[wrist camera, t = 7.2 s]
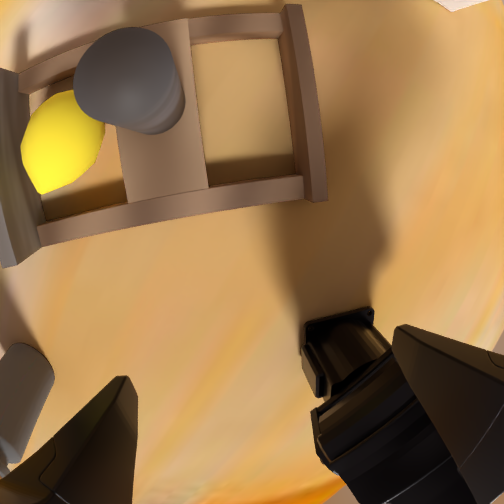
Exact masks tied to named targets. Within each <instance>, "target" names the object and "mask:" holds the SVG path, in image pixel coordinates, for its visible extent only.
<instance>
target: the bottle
mask: <svg viewBox="0 0 504 504" xmlns="http://www.w3.org/2000/svg"><path fill="white" fill-rule="evenodd" d="M54 379H55V376H54V372H53V369H52V367H51V365H50V364H49V362H48V361H47V360H46V358H45V357H44V356H43V355H42V354H41V353H39V352H38V351H37V350H36V349H34V348H33V347H31V346H29V345H26V344H23V343H15V344H13V345H12V346H11V347H10V348H9V349H8V351H7V352H6V353H5V354H4V356H3V357H2V358H1V360H0V479H2V478H3V477H5V476H6V475H7V474H9V473H10V470H9V469H8V468H7V465H8V463H14V464H15V463H19V462H20V461H21V459H22V456H23V454H24V451H25V449H26V446H27V444H28V441H29V439H30V436H31V434H32V431H33V429H34V426H35V424H36V422H37V419H38V417H39V415H40V412H41V410H42V408H43V405H44V403H45V401H46V399H47V397H48V394H49V392H50V390H51V388H52V386H53V383H54Z"/></svg>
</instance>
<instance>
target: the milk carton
mask: <svg viewBox="0 0 504 504" xmlns="http://www.w3.org/2000/svg"><path fill="white" fill-rule="evenodd" d="M435 1H436V2H438V3H439V4H441V5H442V6H443V7H445V8H446V9H448V10H449V11H451V12H453V11H456V10H459V9H462V8H465V7H468V6H471V5H474V4H478V3H481V2H484V1H488V0H435Z"/></svg>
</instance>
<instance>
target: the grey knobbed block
mask: <svg viewBox="0 0 504 504" xmlns="http://www.w3.org/2000/svg"><path fill="white" fill-rule="evenodd" d="M73 91H74V96H75V99H76V102H77V104H78V105H79V107H80V108H81V110H82V111H83V112H84V113H85V114H87V115H88V116H89V117H91V118H93V119H95V120H98V121H101V122H104V123H108V124H111V125H115V126H116V132H117V140H118V147H119V154H120V160H121V166H122V172H123V178H124V184H125V189H126V194H127V200H128V203H133V202H138V201H142V200H147V199H152V198H157V197H162V196H168V195H173V194H178V193H184V192H190V191H195V190H201V189H207V188H209V187H208V179H207V172H206V166H205V159H204V152H203V144H202V137H201V130H200V122H199V114H198V107H197V99H196V90H195V82H194V73H193V65H192V56H191V46H190V37H189V28H188V18H184V19H178V20H172V21H166V22H161V23H156V24H152V25H147V26H143V27H128V28H122V29H118V30H115V31H112V32H110V33H108V34H106V35H104V36H102V37H101V38H99V39H98V40H97V41H95V42H94V43H93V44H92V45H91V46H90V47H89V48H88V49H87V50H86V52H85V53H84V54H83V56H82V57H81V59H80V61H79V63H78V65H77V67H76V70H75V74H74V79H73Z"/></svg>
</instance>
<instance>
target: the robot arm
mask: <svg viewBox="0 0 504 504" xmlns="http://www.w3.org/2000/svg"><path fill="white" fill-rule="evenodd" d="M369 311H370V312H369ZM368 312H369V313H368ZM367 313H368V314H367ZM373 321H374V309H373V308H372V307H370V306H367V307H364V308H360V309H356V310H353V311H349V312H345V313H341V314H337V315H333V316H329V317H325V318H321V319H317V320H312V321H309V322H307V323H305V325H304V345H303V346H302V347H301V357H302V369H303V371H304V373H305V376H306V378H307V380H308V382H309V384H310V386H311V389H312V391H313V393H314V395H315V397H317V398H321V397H323V399H324V401H325V402H324V403H323V404H322V405H320V406H319V407H318V408H314V409H313V410H312V411H310V413H311V421H312V428H313V435H314V443H315V449H316V454H317V455H318V457H319V458H320V461H321V463H322V464H324V465H326V467H327V468H328V469H329V470H331V471H332V472H333V473H335V474H336V475H339V476H340V477H341V478H342V479H343V481H344V482H345V483H346V484H347V486H348V487H349V489H350V490H351V492H352V493H353V495H354V496H355V498H356V499H357V501H358V502H359V503H360V504H491V503H492V502H493V501H494V500H495V499H496V498H498V497H499V496H500V495H501V494H502V493H503V492H504V355H501V354H498V353H494V352H491V351H488V350H487V351H486V350H485V349H481V348H478V347H475V346H472V345H469V344H466V343H463V342H459V341H456V340H453V339H450V338H447V337H444V336H441V335H438V334H435V333H432V332H429V331H426V330H423V329H420V328H417V327H414V326H410V325H407V324H403V325H400V326H397V327H396V328H395V330H394V335H393V341H392V346H391V344H390V343H389V342H388V341H387V340H386V339H385V338H384V337H383V335H382V334H381V333H380V332H379V331H378V330H377V329H376V328H375V327H374V326H373ZM310 326H312V327H311V328H310V329H308V328H309V327H310ZM137 439H138V396H137V393H136V390H135V388H134V386H133V384H132V382H131V380H130V378H129V377H128V376H126V375H125V376H116V377H115V378H113V379H112V380H111V381H110V382H109V383H108V384H107V385H106V386H105V387H104V388H103V389H102V390H101V391H100V392H99V393H98V394H97V395H96V396H95V397H94V398H93V399H91V400H90V401H89V402H88V403H87V404H86V405H85V406H84V407H83V408H82V409H81V410H80V411H79V412H78V413H77V414H76V415H75V416H74V417H73V418H72V419H71V420H69V421H68V422H67V423H66V424H65V425H64V426H63V427H62V428H61V429H60V430H59V431H58V432H57V433H56V434H55V435H54V436H53V437H52V438H51V439H50V440H49V441H47V442H46V443H45V444H44V445H43V446H42V447H41V448H40V449H39V450H38V451H37V452H35V453H34V454H33V455H32V456H31V457H29V458H28V459H27V460H26V461H24V462H23V463H22V464H20V465H19V466H18V467H17V468H15V469H14V470H13V471H11V472H10V473H9V474H7V475H6V476H5V477H3V478H2V479H0V504H132V495H133V481H134V469H135V458H136V449H137Z"/></svg>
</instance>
